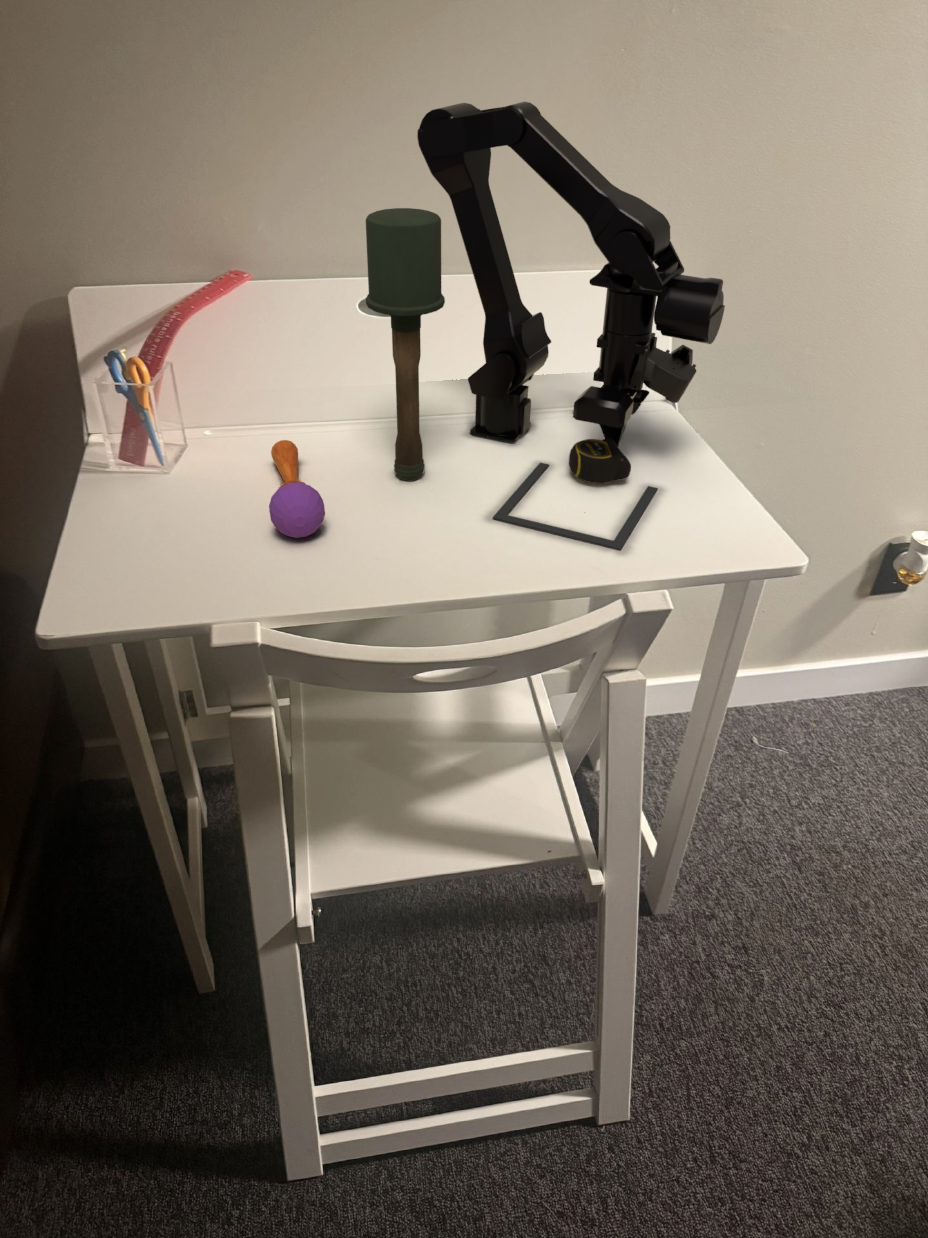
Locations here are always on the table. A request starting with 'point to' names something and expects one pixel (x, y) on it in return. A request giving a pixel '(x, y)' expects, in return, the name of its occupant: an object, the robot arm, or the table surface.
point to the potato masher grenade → (405, 309)
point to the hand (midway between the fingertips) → (613, 448)
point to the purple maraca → (294, 496)
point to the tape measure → (598, 461)
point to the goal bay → (616, 544)
